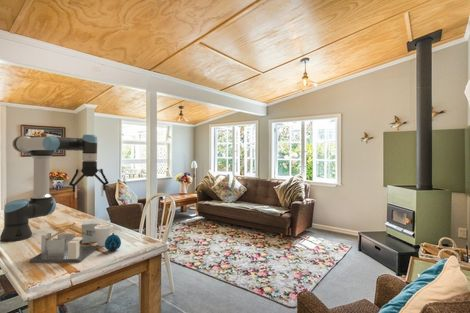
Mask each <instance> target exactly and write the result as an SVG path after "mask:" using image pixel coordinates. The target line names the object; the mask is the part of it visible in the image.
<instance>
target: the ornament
mask: <svg viewBox="0 0 470 313" xmlns="http://www.w3.org/2000/svg"><path fill="white" fill-rule="evenodd" d="M121 244H122V239H121V238H120V236H118V234H115V233H114V232H113V233H112V232H111V235H110V236H109V237H108V238H107V239H106V241H105V246H104V247H105V249H106V251H111V252H113V251H117V250H118V249H120V247H121Z"/></svg>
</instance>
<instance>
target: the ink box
mask: <svg viewBox="0 0 470 313" xmlns="http://www.w3.org/2000/svg"><path fill="white" fill-rule="evenodd" d="M98 225H99V220H98V219H93V220H85V221H83V222H82V223H81V237H83V239H82V240H81V244H82V245H83V244H88V243H89V244H90V243H91V244H92V243H97V239H96V233H95V228H94V227H95V226H98Z"/></svg>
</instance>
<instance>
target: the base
mask: <svg viewBox="0 0 470 313" xmlns="http://www.w3.org/2000/svg"><path fill="white" fill-rule="evenodd" d="M51 236H52V232H50V233H49V232H47V233H46V235H41V237H40V238H41V240H40V241H41V242H40V244H41V246H40V248H41V250H40V253H38V254H37V255H35V256H33V257H32V258H30V259H29V263H82V261H84V260H85V259H86V258H88V257H89V256H90V255H91V254H93V253H94V251H96V250H97V249H98V245H79V257H78V258H77V259H68V242H70V241H71V240H72V239H73V238H75V237H76V233H59V234H58V235H57V238H51V239H49V240H47V239H48V238H49V237H51Z"/></svg>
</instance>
